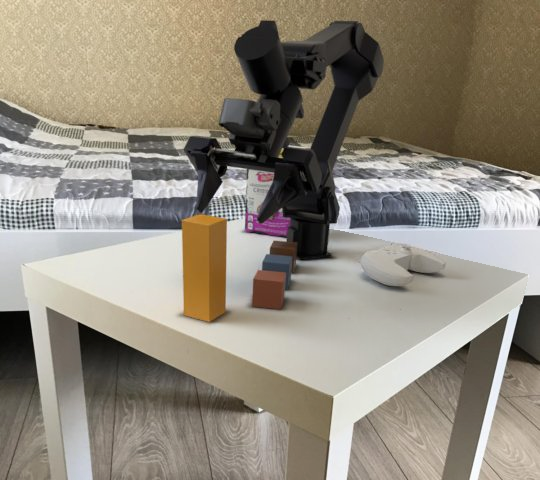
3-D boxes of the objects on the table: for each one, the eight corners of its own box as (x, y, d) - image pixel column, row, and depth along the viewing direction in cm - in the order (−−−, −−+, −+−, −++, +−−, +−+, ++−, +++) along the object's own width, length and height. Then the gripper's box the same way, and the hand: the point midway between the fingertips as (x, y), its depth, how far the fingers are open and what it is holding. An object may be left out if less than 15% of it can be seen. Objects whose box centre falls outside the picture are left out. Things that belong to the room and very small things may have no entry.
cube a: (272, 263, 96) (273, 240, 94) (296, 265, 96) (297, 242, 94) (268, 271, 93) (270, 246, 91) (293, 273, 92) (295, 249, 90)
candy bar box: (243, 232, 113) (246, 143, 105) (252, 226, 117) (255, 141, 110) (298, 240, 110) (304, 149, 102) (305, 233, 114) (312, 146, 107)
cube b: (265, 278, 89) (266, 253, 88) (290, 281, 89) (292, 256, 87) (261, 287, 86) (262, 261, 84) (287, 290, 85) (289, 264, 84)
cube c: (256, 296, 83) (257, 269, 81) (284, 299, 82) (286, 272, 80) (252, 306, 79) (253, 278, 77) (280, 309, 79) (282, 281, 77)
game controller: (406, 275, 84) (354, 245, 89) (396, 300, 87) (346, 270, 92) (454, 256, 94) (404, 231, 99) (444, 280, 96) (396, 254, 101)
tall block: (200, 305, 78) (200, 213, 73) (225, 312, 77) (227, 218, 71) (183, 315, 75) (181, 219, 69) (209, 322, 74) (209, 225, 68)
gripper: (190, 69, 75) (140, 167, 71) (321, 78, 68) (274, 187, 64) (221, 130, 85) (179, 218, 81) (339, 143, 78) (298, 241, 74)
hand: (228, 216), depth 75 cm, fingers open, 9 cm apart
